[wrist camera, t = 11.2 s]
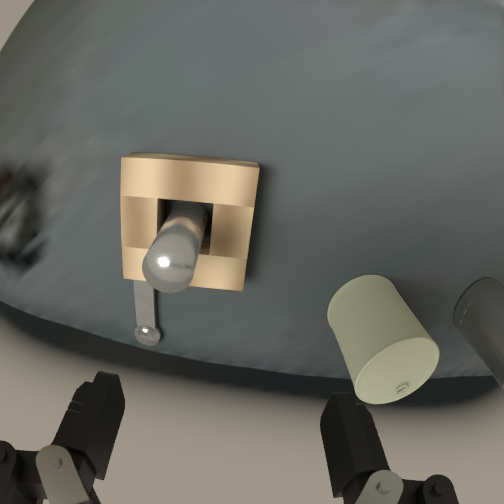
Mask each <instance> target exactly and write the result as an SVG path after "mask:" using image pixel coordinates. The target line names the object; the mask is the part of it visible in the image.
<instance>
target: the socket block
mask: <svg viewBox="0 0 504 504" xmlns="http://www.w3.org/2000/svg"><path fill="white" fill-rule="evenodd" d="M259 169H260V168H259V165H258V163H256V162H248V161H239V160H230V159H220V158H209V157H198V156H185V155H171V154H154V153H133V152H132V153H130V154H128V155H125V156H123V157H122V158H121V237H122V258H123V274H124V278H126V279H134V280H142V281H146V279H145V277H144V275H143V272H142V262H143V259H144V257H145V255H146V253H147V252H148V250H149V248H150V246H151V245H152V243H153V241H154V240H155V238H156V236H157V235H158V233H159V231H160V230H161V228H162V226H163V224H164V199H172V200H183V201H195V202H205V203H214V207H213V218H212V229H211V241H210V242H203V241H202V243H201V247H200V251H199V255H198V260H197V264H196V268H195V272H194V276H193V279H192V282H191V283H190V285H189V286H196V287H206V288H216V289H227V290H237V291H243V285H244V277H245V270H246V263H247V256H248V248H249V241H250V234H251V226H252V219H253V212H254V205H255V197H256V190H257V183H258V176H259Z"/></svg>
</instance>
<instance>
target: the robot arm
mask: <svg viewBox="0 0 504 504" xmlns="http://www.w3.org/2000/svg"><path fill="white" fill-rule="evenodd" d="M454 323H455V325H456V327H457V328H458V329H459V331H460V332H461V333H462V334H463V336H464V337H465V338H466V339H467V341H468V342H469V343H470V345H471V346H472V347H473V349H474V350H475V351H476V353H477V354H478V355H479V357H480V358H481V359H482V361H483V362H484V363H485V365H486V366H487V367H488V369H489V370H490V372H491V373H492V374H493V376H494V377H495V379H496V380H497V381H498V383H499V384H500V386H501V387H502V389H503V390H504V288H503V287H501V286H500V285H499V284H498V283H497V282H496V281H495V280H493V279H491V278H484V279H481V280H479V281H477V282H476V283H474V284H473V285H472V286H471V287H469V288H468V289H467V291H466V292H465V293H464V294H463V296H462V297H461V299H460V300H459V302H458V304H457V306H456V309H455V313H454ZM124 409H125V398H124V394H123V391H122V387H121V383H120V379H119V376H118V375H117V374H113V373H107V372H103V371H99V372H98V373H97V374H96V376H95V379H94V381H93V383H91V382H84V383H83V384H82V385H81V386H80V387H79V388H78V389H77V390H76V392H75V394H74V396H73V398H72V402H70V404H69V407H68V410H67V411H66V413H65V415H64V418H63V420H62V422H61V424H60V427H59V429H58V431H57V433H56V436H55V438H54V440H53V442H52V443H51V444H50V445H48V446H45V447H43V448H42V449H41V450H40V451H23V450H15V449H14V447H13V446H12V445H11V444H10V443H8V442H6V441H0V504H43V500H44V499H48V500H49V503H50V504H101V502H100V500H99V498H98V496H97V494H96V492H95V490H94V488H93V484H94V480H95V478H97V479H100V480H104V478H105V475H106V471H107V467H108V464H109V460H110V457H111V453H112V450H113V447H114V443H115V440H116V436H117V433H118V430H119V427H120V423H121V420H122V417H123V414H124ZM320 430H321V435H322V440H323V445H324V450H325V455H326V460H327V465H328V471H329V476H330V481H331V486H332V492H333V497H334V498H338V497H343V500H344V504H459V503H458V499H457V496H456V493H455V490H454V487H453V484H452V482H451V481H450V479H448V478H447V477H445V476H443V475H433V476H430V477H429V478H428V479H427V480H425V481H415V480H405V479H401V478H400V477H399V476H398V475H397V474H396V473H394V472H392V471H391V470H390V468H389V466H388V463H387V460H386V457H385V454H384V451H383V447H382V445H381V441H380V439H379V436H378V432H377V429H376V427H375V423H374V421H373V418H372V415H371V413H370V412H369V411H368V410H367V409H366V407H365V406H364V405H356V402H355V399H354V396H353V394H352V393H351V392H344V393H332V394H331V395H330V397H329V400H328V402H327V404H326V407H325V409H324V411H323V413H322V416H321V420H320Z"/></svg>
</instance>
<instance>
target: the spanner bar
mask: <svg viewBox="0 0 504 504" xmlns="http://www.w3.org/2000/svg"><path fill="white" fill-rule="evenodd" d="M134 292H135V306H136V317H137V326H136V329H135V331H134V335H135V338H136V339H137V340H138V341H139V342H140V343H142V344H144V345H147V346H152V345H155V344H157V343H158V342H159V340H160V336H161V329H160V327H159V326H158V325H157V318H156V293H155V288H153V287H152V286H151V285H150V284H149V283H148V282H147V281H142V280H134Z"/></svg>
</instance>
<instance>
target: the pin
mask: <svg viewBox="0 0 504 504" xmlns="http://www.w3.org/2000/svg"><path fill="white" fill-rule="evenodd" d="M207 220H208V214H207V211H206V209H205V207H204V206H203V205H202V204H201V203H200V202H195V201H183V200H182V201H180V202H179V203H177V204H176V205H175V207H174V208H173V210H172V211H171V213H170V215H169V216H168V218H167V220H166V221H165V223H164V225H163V226H162V228H161V230H160V231H159V233H158V235H157V236H156V238H155V240H154V241H153V243H152V245H151V246H150V248H149V250H148V252H147V253H146V255H145V257H144V259H143V262H142V272H143V275H144V277H145V279H146V281H147V282H148V283H149V284H150V285H151V286H152V287H153V288H155V289H157V290H159V291H161V292H164V293H177V292H180V291H182V290H184V289H186V288H187V287H188V286H189V285H190V283H191V282H192V279H193V276H194V272H195V268H196V264H197V260H198V255H199V251H200V247H201V243H202V240H203V236H204V232H205V228H206V224H207Z"/></svg>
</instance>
